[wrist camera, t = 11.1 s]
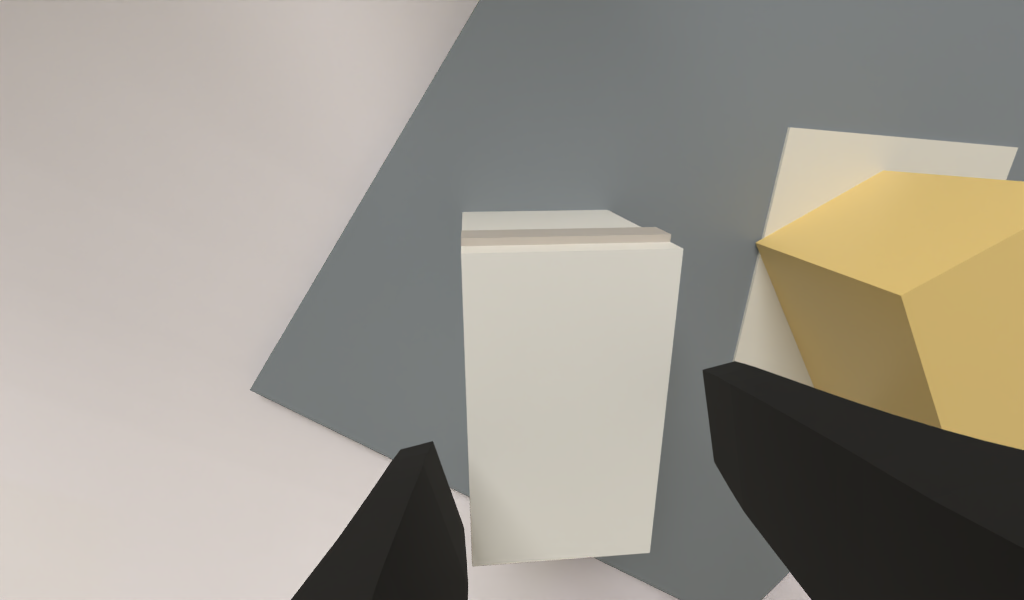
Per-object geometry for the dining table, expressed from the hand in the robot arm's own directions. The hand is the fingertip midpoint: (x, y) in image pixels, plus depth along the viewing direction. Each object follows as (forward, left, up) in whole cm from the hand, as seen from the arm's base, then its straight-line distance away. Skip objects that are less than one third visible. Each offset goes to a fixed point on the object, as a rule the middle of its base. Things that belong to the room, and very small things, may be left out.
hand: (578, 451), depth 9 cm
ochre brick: (-10, -1, -6) cm, 12 cm away
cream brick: (0, 0, -6) cm, 6 cm away
